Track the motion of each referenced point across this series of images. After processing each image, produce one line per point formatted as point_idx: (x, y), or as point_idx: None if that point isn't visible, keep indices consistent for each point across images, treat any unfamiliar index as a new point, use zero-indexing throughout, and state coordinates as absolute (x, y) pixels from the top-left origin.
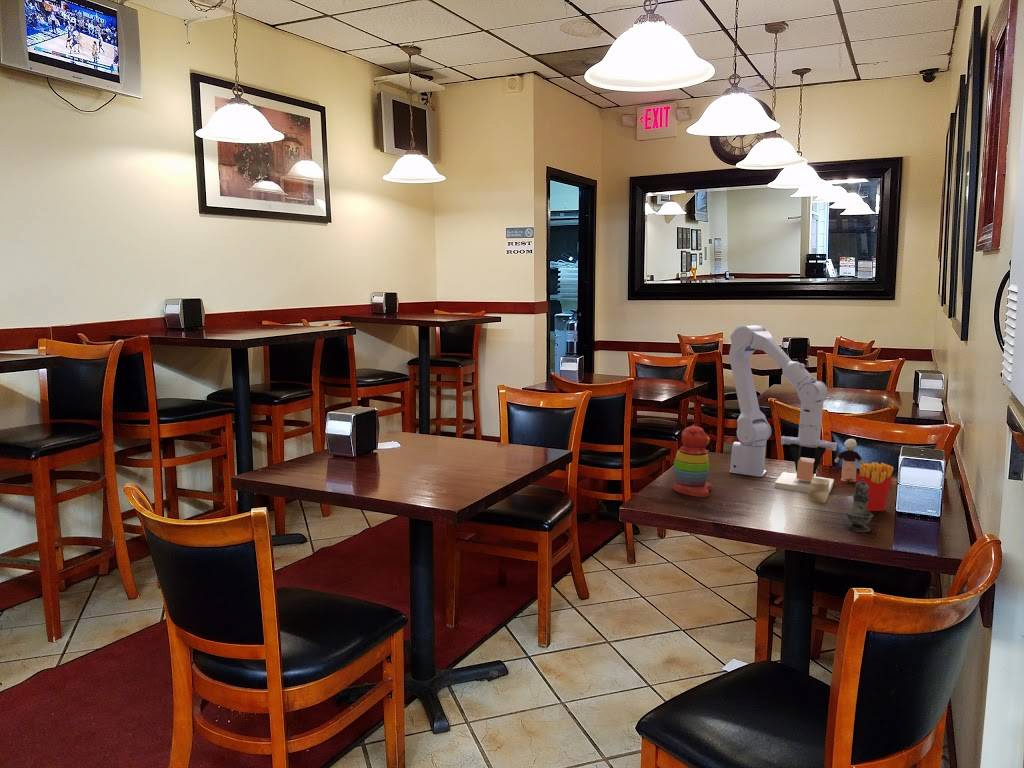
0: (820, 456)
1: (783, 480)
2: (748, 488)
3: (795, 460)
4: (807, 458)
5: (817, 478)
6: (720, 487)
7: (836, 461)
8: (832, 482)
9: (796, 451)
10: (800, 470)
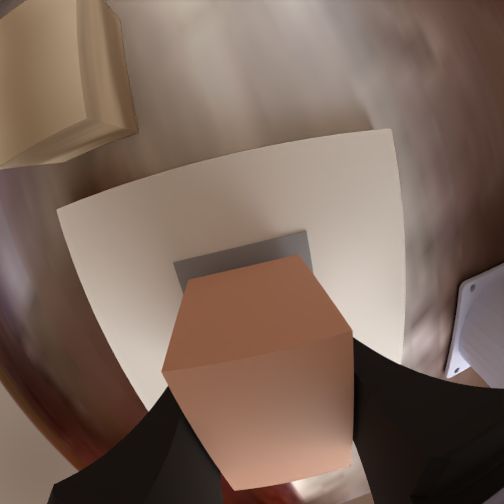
0: (96, 469)
1: (369, 219)
2: (440, 38)
3: (382, 365)
4: (295, 472)
5: (54, 119)
6: (486, 11)
7: None
8: (137, 392)
9: (439, 426)
10: (287, 290)
